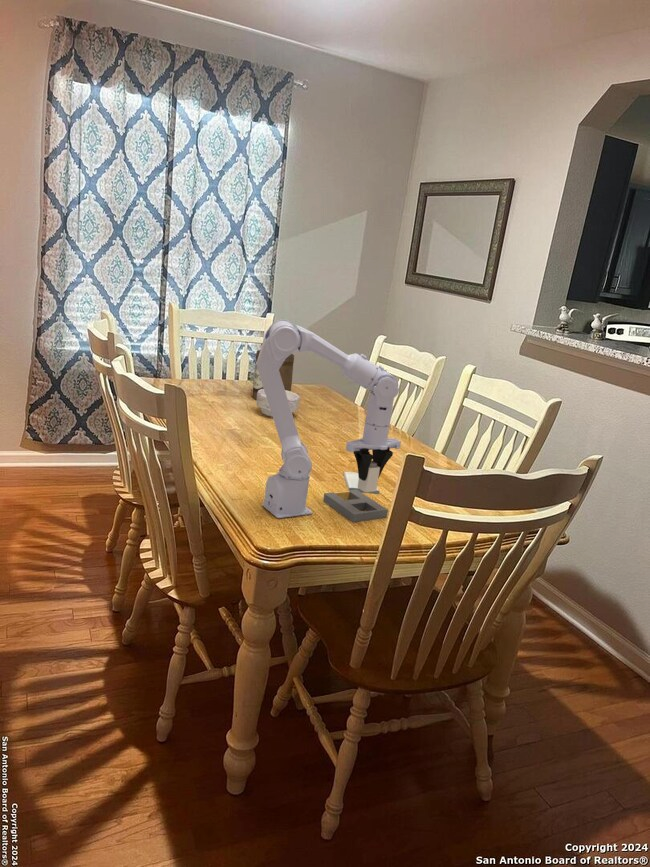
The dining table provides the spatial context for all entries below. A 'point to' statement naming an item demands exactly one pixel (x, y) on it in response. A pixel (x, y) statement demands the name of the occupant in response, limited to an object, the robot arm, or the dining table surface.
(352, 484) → the hard drive
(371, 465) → the plug
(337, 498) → the socket panel
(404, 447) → the dining table surface
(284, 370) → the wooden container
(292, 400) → the paper bowls
